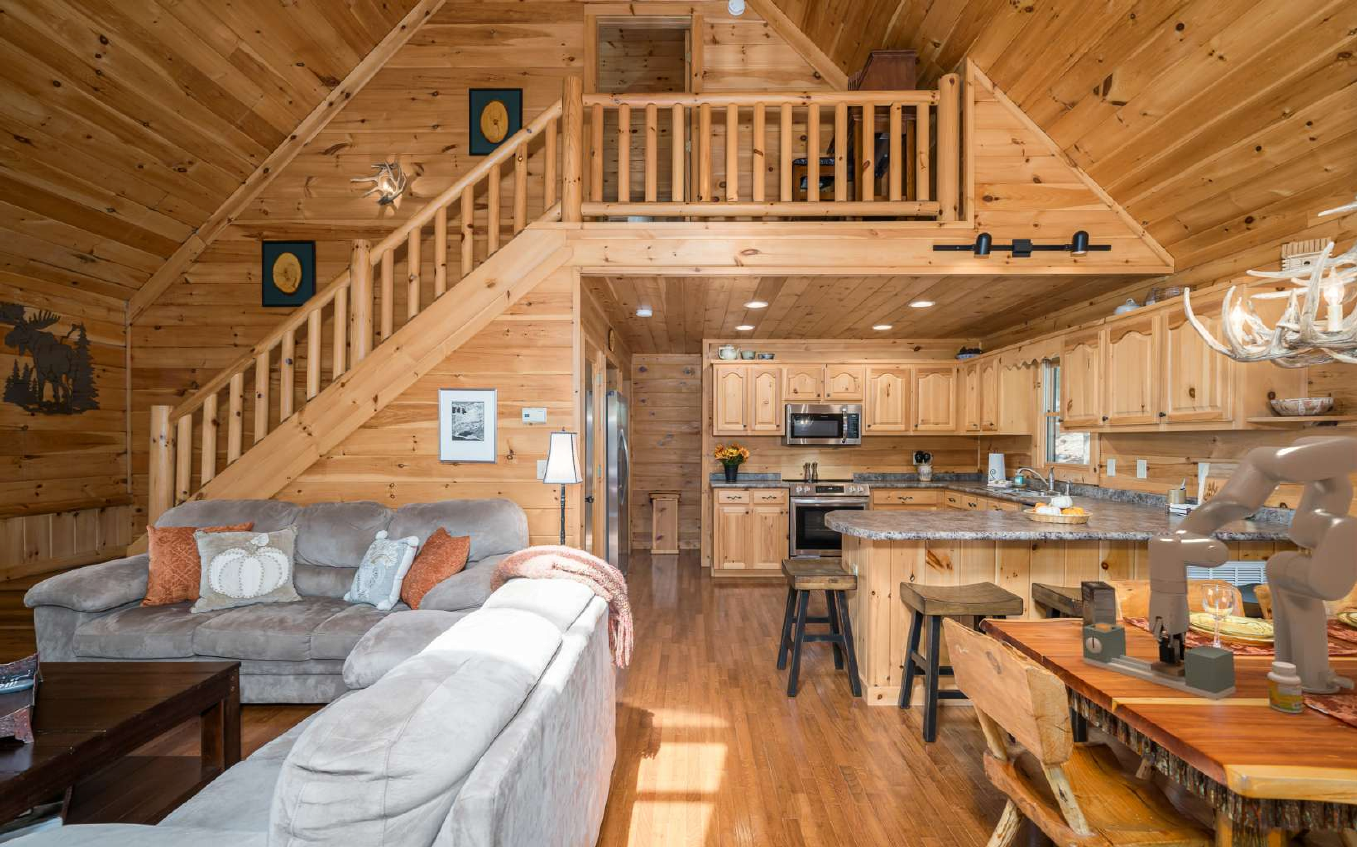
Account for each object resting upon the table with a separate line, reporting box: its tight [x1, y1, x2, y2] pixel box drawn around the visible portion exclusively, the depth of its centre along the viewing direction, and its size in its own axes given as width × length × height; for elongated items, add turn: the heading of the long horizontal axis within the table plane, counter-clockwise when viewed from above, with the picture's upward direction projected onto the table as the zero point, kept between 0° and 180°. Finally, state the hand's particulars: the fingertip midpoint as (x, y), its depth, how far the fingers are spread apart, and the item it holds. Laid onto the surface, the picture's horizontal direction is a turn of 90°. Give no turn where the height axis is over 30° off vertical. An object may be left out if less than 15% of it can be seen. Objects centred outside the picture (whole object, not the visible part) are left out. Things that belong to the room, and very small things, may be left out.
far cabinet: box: [1081, 622, 1127, 664], centre depth 176 cm, size 6×10×8 cm, turn 118°
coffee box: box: [1080, 580, 1117, 627], centre depth 198 cm, size 9×6×16 cm
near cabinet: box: [1183, 644, 1236, 694], centre depth 156 cm, size 7×9×8 cm
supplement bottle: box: [1267, 661, 1304, 714], centre depth 145 cm, size 5×5×10 cm
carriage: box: [1151, 637, 1185, 677], centre depth 162 cm, size 6×8×8 cm
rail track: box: [1083, 655, 1236, 701], centre depth 166 cm, size 30×9×2 cm, turn 28°
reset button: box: [1095, 624, 1111, 631], centre depth 177 cm, size 4×4×3 cm
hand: (1172, 660), depth 162 cm, fingers open, 4 cm apart
